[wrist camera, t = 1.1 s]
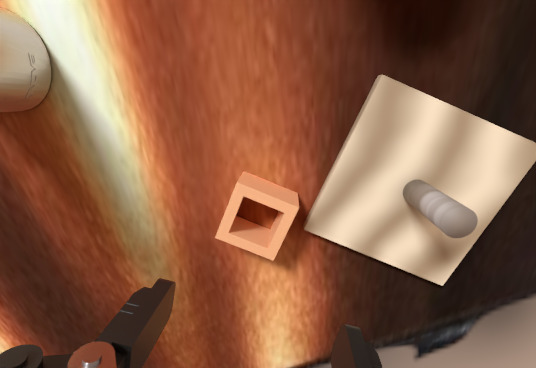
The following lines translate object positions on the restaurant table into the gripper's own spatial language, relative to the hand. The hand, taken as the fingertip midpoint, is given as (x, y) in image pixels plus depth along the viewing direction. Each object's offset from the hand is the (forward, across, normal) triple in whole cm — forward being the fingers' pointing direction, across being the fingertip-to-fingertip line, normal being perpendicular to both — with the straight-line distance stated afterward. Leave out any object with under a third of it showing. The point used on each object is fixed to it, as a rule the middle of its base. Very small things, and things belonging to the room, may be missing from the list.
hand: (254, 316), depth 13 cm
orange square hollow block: (+16, +1, +1) cm, 17 cm away
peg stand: (+17, -13, -4) cm, 21 cm away
